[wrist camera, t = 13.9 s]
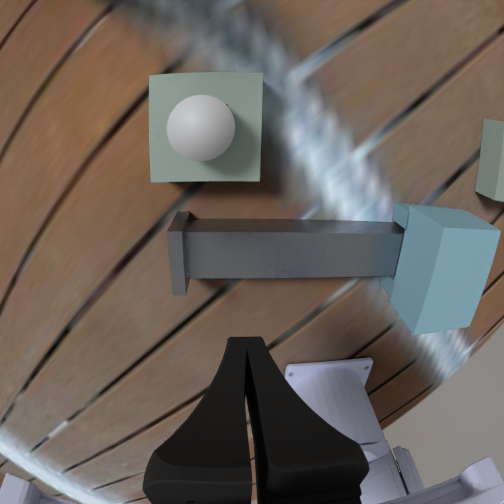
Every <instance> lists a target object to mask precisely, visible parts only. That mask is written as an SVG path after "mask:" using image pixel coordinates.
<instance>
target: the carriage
mask: <svg viewBox="0 0 504 504" xmlns="http://www.w3.org/2000/svg"><path fill="white" fill-rule="evenodd" d="M392 220H394V221H395V222H396V223H398V224H399V225H400V226H402V227H403V228H404V229H405V233H404V238H403V243H402V248H401V253H400V257H399V262H398V266H397V271H396V275H395V276H381V278H380V284H381V285H382V286H383V288H384V289H385V290H386V292H387V293H388V294H389V296H390V299H389V302H390V303H391V305H392V306H393V307H394V309H395V310H396V312H397V313H398V314H399V316H400V317H401V319H402V320H403V321H404V323H405V324H406V326H407V327H408V328H409V330H410V331H411V333H412V334H413V335H418V334H425V333H432V332H439V331H445V330H452V329H458V328H464V327H469V326H470V323H471V321H472V319H473V316H474V314H475V311H476V308H477V306H478V303H479V301H480V298H481V295H482V292H483V289H484V287H485V284H486V281H487V278H488V275H489V271H490V268H491V265H492V262H493V258H494V255H495V252H496V248H497V244H498V241H499V237H500V233H501V231H500V230H499V229H497V228H495V227H494V226H492V225H490V224H489V223H487V222H485V221H484V220H482V219H480V218H478V217H477V216H475V215H473V214H471V213H469V212H468V211H466V210H459V209H452V208H450V207H444V206H433V205H421V204H408V203H394V210H393V216H392Z"/></svg>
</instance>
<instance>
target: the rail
mask: <svg viewBox="0 0 504 504" xmlns="http://www.w3.org/2000/svg"><path fill="white" fill-rule="evenodd" d="M404 233H405V229H404V228H403V227H402V226H400V225H399V224H398V223H396V222H370V221H337V220H290V219H190V212H177V214H176V215H175V217H174V219H173V221H172V223H171V225H170V227H169V229H168V231H167V237H168V249H169V261H170V272H171V282H172V292H173V295H186V294H187V289H188V285H189V280H190V278H316V277H362V276H395V275H396V271H397V266H398V262H399V257H400V253H401V248H402V243H403V238H404Z"/></svg>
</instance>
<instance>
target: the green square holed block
mask: <svg viewBox="0 0 504 504" xmlns="http://www.w3.org/2000/svg"><path fill="white" fill-rule="evenodd" d="M475 191H476V192H478V193H480V194H482V195H484V196H486V197H488V198H491V199H493V200H496V201H503V202H504V122H502V121H496V120H490V119H483V131H482V141H481V151H480V159H479V167H478V174H477V180H476V186H475Z"/></svg>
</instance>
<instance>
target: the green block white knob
mask: <svg viewBox="0 0 504 504" xmlns="http://www.w3.org/2000/svg"><path fill="white" fill-rule="evenodd" d="M262 95H263V73H258V72H194V73H174V74H160V75H149V145H150V173H151V182H184V181H260V159H261V128H262Z"/></svg>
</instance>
